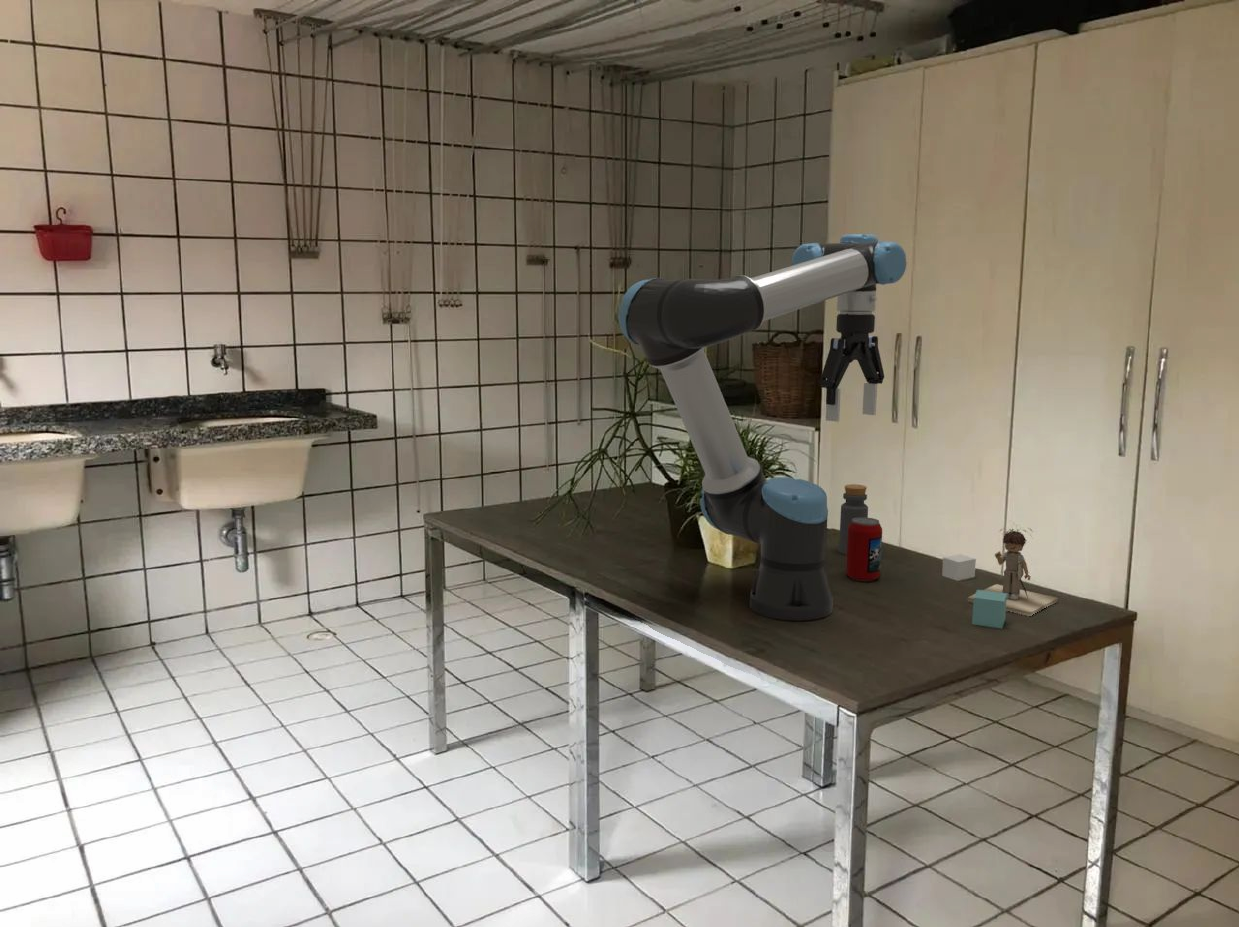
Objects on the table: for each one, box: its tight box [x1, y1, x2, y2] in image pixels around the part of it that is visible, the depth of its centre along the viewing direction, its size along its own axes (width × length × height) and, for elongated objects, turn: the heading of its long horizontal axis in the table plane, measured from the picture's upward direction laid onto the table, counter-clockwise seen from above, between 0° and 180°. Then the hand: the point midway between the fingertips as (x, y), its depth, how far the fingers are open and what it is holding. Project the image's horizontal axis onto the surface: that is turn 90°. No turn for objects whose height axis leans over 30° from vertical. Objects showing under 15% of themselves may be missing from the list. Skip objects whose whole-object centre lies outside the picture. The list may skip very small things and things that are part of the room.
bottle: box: [838, 483, 869, 556], centre depth 221 cm, size 6×6×15 cm
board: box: [966, 583, 1059, 617], centre depth 188 cm, size 12×12×1 cm
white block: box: [941, 553, 977, 582], centre depth 204 cm, size 5×4×4 cm
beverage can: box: [845, 517, 883, 582], centre depth 202 cm, size 7×7×12 cm
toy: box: [994, 520, 1034, 600], centre depth 187 cm, size 6×6×15 cm
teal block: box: [971, 589, 1007, 630], centre depth 177 cm, size 5×5×5 cm
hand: (851, 417), depth 205 cm, fingers open, 13 cm apart
